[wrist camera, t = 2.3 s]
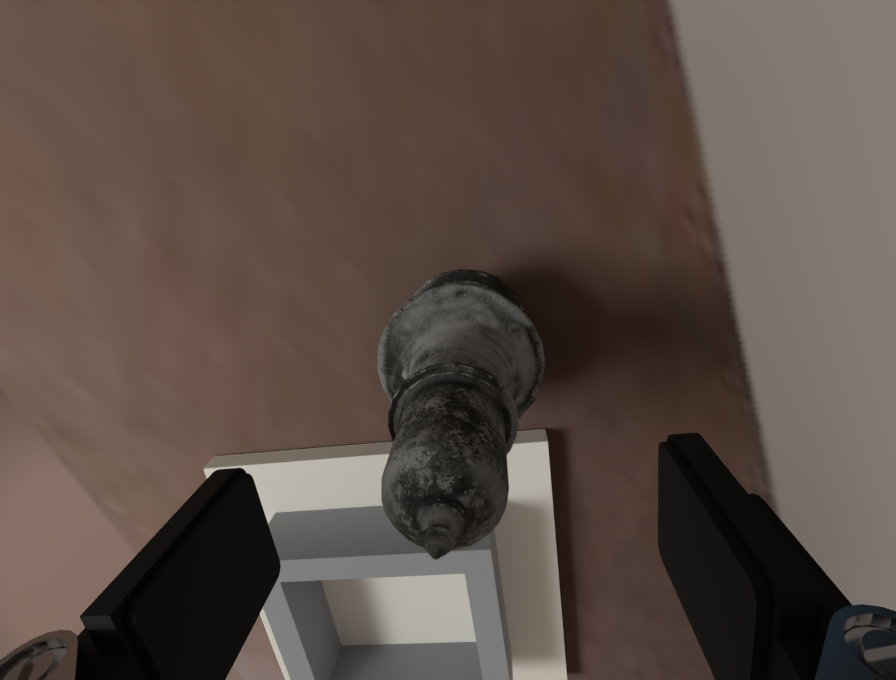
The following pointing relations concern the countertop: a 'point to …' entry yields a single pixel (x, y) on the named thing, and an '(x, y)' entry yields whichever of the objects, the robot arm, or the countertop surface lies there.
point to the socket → (405, 574)
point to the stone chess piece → (455, 406)
